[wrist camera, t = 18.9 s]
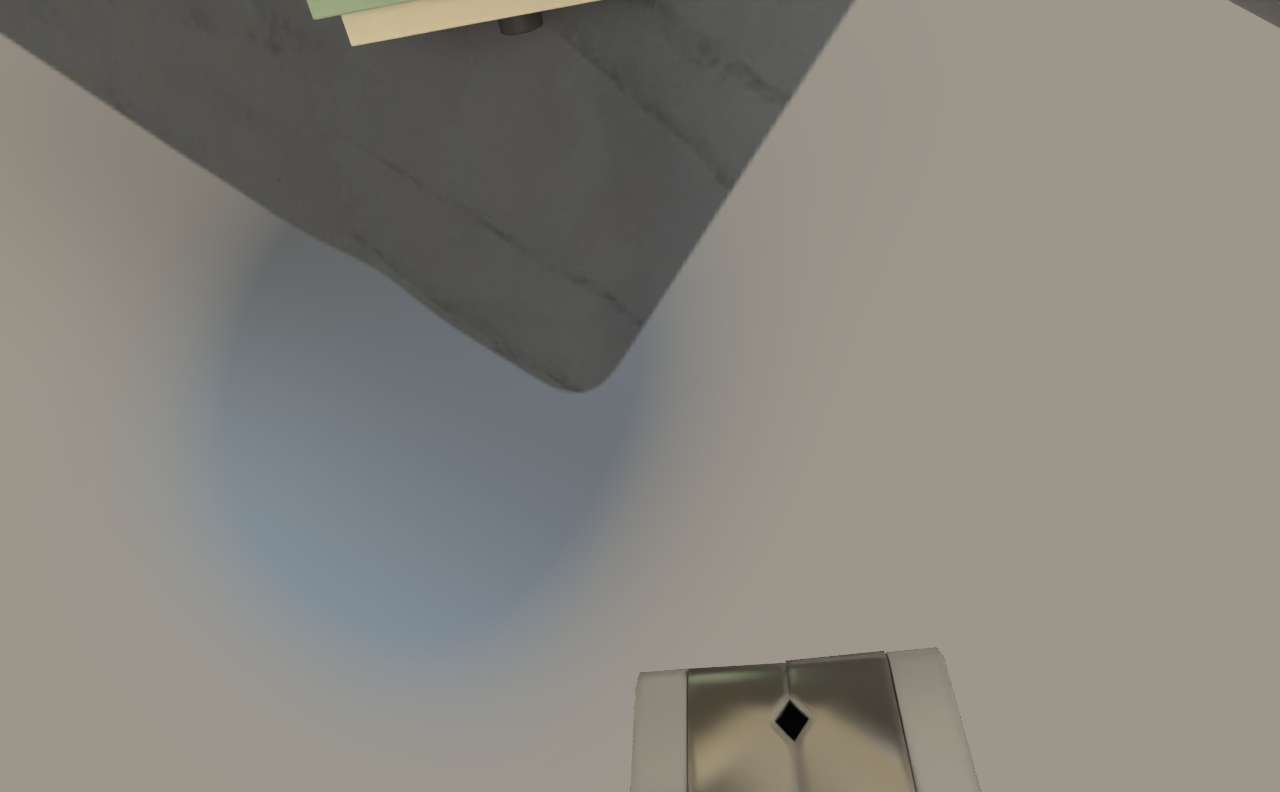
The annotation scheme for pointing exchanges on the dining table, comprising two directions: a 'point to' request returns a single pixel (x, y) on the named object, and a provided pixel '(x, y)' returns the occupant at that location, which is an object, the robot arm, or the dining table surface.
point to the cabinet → (346, 6)
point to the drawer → (446, 17)
